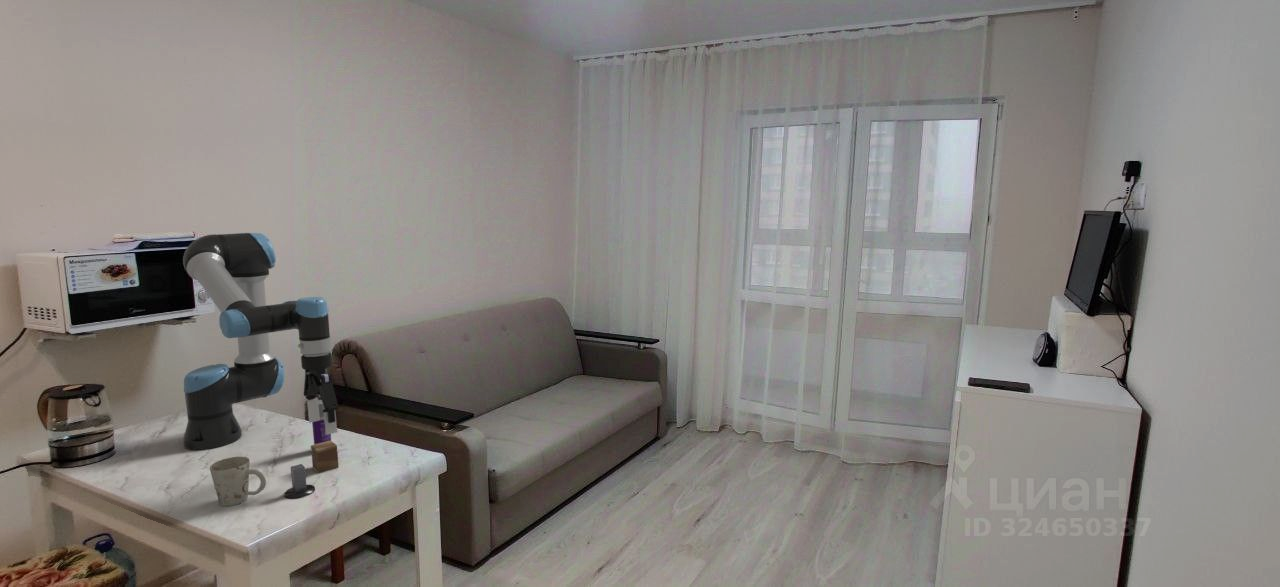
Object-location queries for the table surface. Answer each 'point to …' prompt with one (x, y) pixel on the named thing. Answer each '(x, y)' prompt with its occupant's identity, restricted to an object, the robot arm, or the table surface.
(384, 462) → the table surface
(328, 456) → the brown shipping carton
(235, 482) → the mug
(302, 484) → the post
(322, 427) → the container
